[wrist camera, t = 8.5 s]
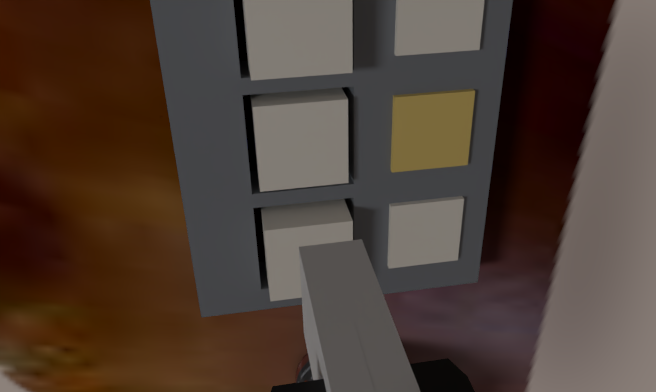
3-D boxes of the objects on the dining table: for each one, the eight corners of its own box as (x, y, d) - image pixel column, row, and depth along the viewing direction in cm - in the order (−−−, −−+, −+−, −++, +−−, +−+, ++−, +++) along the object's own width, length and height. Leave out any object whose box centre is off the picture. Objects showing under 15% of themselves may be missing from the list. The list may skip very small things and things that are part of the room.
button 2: (239, -38, 26) (241, -29, 24) (340, -43, 26) (352, -34, 24) (247, 63, 28) (251, 80, 26) (342, 56, 29) (352, 72, 26)
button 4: (260, 206, 32) (264, 230, 30) (343, 197, 32) (352, 221, 30) (266, 274, 34) (270, 301, 32) (344, 264, 34) (352, 291, 32)
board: (115, -260, 23) (104, -273, 20) (516, -260, 25) (550, -272, 23) (201, 288, 36) (201, 320, 33) (461, 256, 38) (479, 285, 35)
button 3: (249, 89, 30) (252, 107, 28) (338, 82, 30) (347, 99, 28) (256, 169, 32) (260, 191, 30) (339, 161, 32) (348, 182, 30)
